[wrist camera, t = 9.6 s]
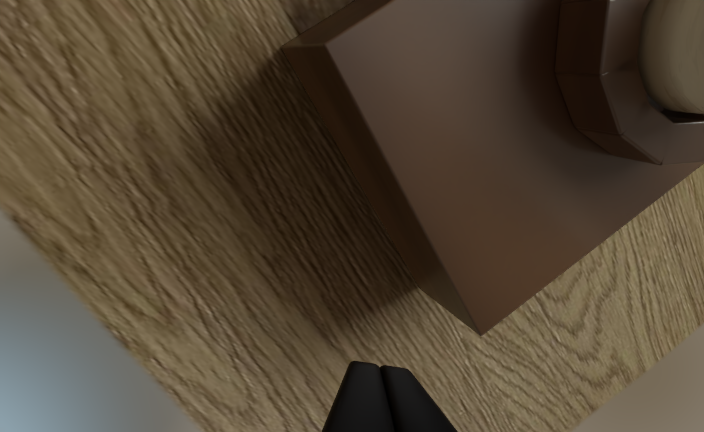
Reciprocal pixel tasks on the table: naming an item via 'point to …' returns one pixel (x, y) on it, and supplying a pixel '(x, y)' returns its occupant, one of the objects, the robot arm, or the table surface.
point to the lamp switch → (673, 54)
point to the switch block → (495, 135)
